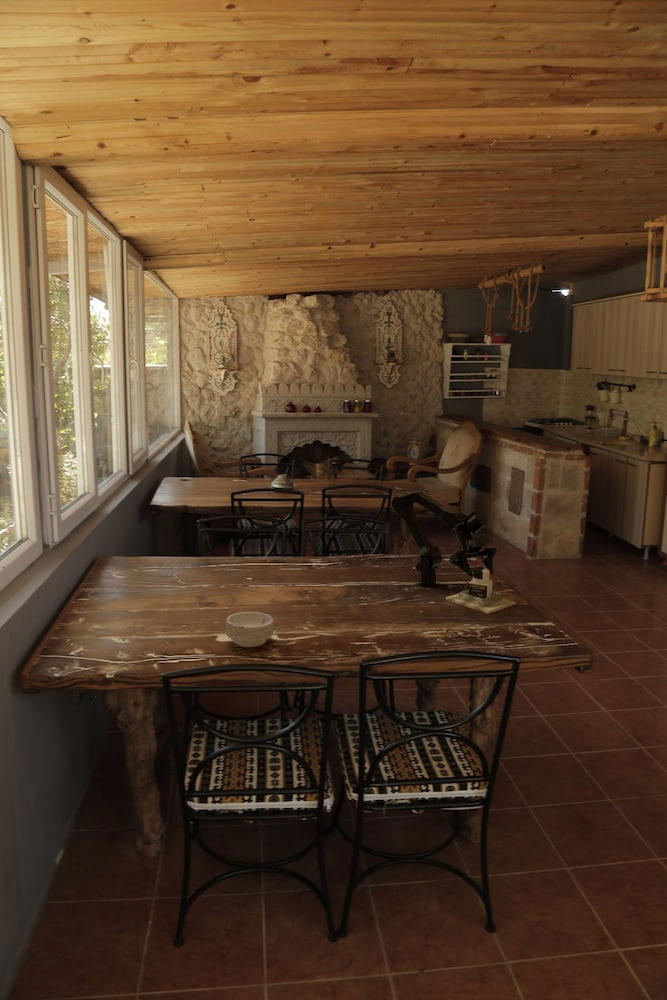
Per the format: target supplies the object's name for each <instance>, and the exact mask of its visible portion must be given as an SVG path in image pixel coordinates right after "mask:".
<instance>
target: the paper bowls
mask: <svg viewBox="0 0 667 1000" xmlns="http://www.w3.org/2000/svg"><path fill="white" fill-rule="evenodd" d="M274 621H275V620H274V617H273V616H272V615H270V614H266V613H264V612H260V611H259V612H258V611H241V612H235V613H233V614H231V615H228V616H227V618H226V620H225V635H226V636H227V637H228V638H230V639H231V640H232V642H233V644H236V645H237V646H238V647H243V648H255V647H256V648H257V647H260V646H263V645H264V644H265V643H266V642H267V640H268V639H271V638H272V636H274V631H275V630H274V629H275V626H274V624H275V622H274Z"/></svg>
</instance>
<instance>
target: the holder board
mask: <svg viewBox="0 0 667 1000" xmlns="http://www.w3.org/2000/svg"><path fill="white" fill-rule="evenodd" d="M468 591H469V589H466V590H462V591H459V592H458V593H457V594H453V595H449V596H446V597H445V601H449V602H452V603H454V602H455V603H454V604H457V605H460V606H464V607H467V608H470V609H473V610H476V611H479V612H482V613H485V614H491V613H495V612H497V611H500V610H503V609H506V608H510V607H512V606H515V605H516V601H513V600H509V599H506V598H504V596H503V595H504V594H503V593H502V592H497V591H493V590H492V597H488V598H485V599H481V598H477V597H474V596H471V595H468Z"/></svg>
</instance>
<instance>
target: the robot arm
mask: <svg viewBox="0 0 667 1000" xmlns="http://www.w3.org/2000/svg"><path fill="white" fill-rule="evenodd" d="M415 503H416V504H418V505H419V506H421V507H423V508H424V509H426V510H427V511H429V512H430V513H432V514H434V515H435V516H436V517H438V518H439V520H440V521H441V522H442V523H443V524H444V525H445V526H446V527H447V528H452V527H453V528H452V529H451V531H450V535H451V536H455V537H456V538H457V540H458V543H459V545H458V548H459V549H461V550H454V552H453V553H452V554H451V555H450V556H449V559H448V560H449V562H450V563H449V564H450V565H454V567H457V568H459V569H461V571H463V572H464V573H466V574H467V575H468V576H469V577H472V578H473V570H472V569H471V567H470V564H469V562H468V559H472V558H473V559H474V558H479V557H480V558H481V559H482V563H483V565H484V567H485V568H486V569H488V570H489V571H490V572H489V574H490V575H492V574H493V573H494V568H493V567H494V566H493V565H494V564H493V560H494V559H493V558H494V557H495V556H496V554H497V553H498V550H497V547H495V546H488V544H490V543H491V541H490V538H489V536H488V534H484V535H481V536H480V537H475V536H474V535H473V534H474V533H477V532H479V531H480V530H481V529H483V528H484V527H485V526H486V525H488V520H487V518H486V516H484V515H483V514H482V513H480V512H479V511H478V510H473V511H472V512H471V513H470V514H469V515H466V514H465V513H463V512H462V511H461V510H458V509H457V508H453V507H448V506H446V505H444V504H441V503H440V502H439V501H437V500H436V499H434V498H433V497H431V496H429V495H426V494H425V493H424V492H423V491H421V490H418V491H413V492H412V493H410V494H403V495H398V496H394V497H393V498H392V500H391V503H390V506H391V507H392V509H393V510H394V512H395V513H396V514H397V515H398V516H399V517H401V518H402V519H403V521H404V523H405V525H406V527H407V528H408V530H409V532H410V534H411V536H412V538H413V540H414V542H415V544H416V545H417V548H418V550H419V551H418V553H419V559H420V561H419V562H418V563H416V565H415V568H416V569H415V570H416V571H417V572H418V582H420V583H418V584H421V585H420V586H422V585H424V586H423V587H425V586H426V587H425V588H429V587H428V586H430V587H433V586H432V585H434V586H437V585H439V583H438V582H437V574H436V569H439V568H440V567H439V566H440V565H441V564H442V561H443V556H442V555H443V553H442V552H441V551H440V548H439V547H438V545H435V546H434V545H432V544H431V543H430V541H429V538H428V537H427V535H426V533H425V532H424V530H423V527H422V525H421V523H420V522H419V520H418V518H417V517H416V515H415V512H414V511H415V505H414V504H415ZM454 527H456V528H454ZM484 546H488V547H485V548H484V549H483V547H484ZM482 549H483V550H482ZM480 550H482V551H480ZM418 584H417V585H418ZM436 584H437V585H436Z"/></svg>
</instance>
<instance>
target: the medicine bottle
mask: <svg viewBox="0 0 667 1000" xmlns="http://www.w3.org/2000/svg"><path fill="white" fill-rule="evenodd" d="M472 574H473V576H472V580H470V581H469V582H468V590H469V591H468V595H471V596H474V597H477V598H481V599H485V598H488V597H492V591H493V580H491V579H490V571H489V570H488V569H487V568H486V567H475V568H473V570H472Z"/></svg>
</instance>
